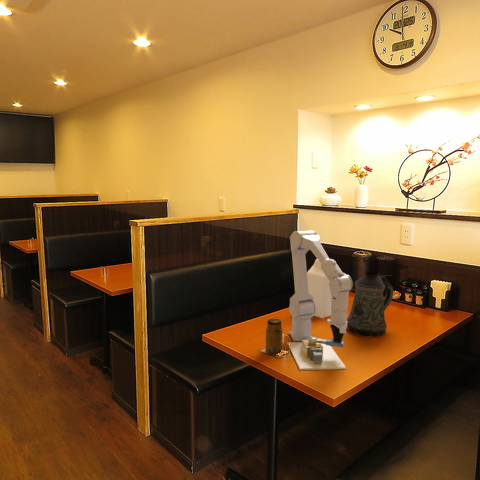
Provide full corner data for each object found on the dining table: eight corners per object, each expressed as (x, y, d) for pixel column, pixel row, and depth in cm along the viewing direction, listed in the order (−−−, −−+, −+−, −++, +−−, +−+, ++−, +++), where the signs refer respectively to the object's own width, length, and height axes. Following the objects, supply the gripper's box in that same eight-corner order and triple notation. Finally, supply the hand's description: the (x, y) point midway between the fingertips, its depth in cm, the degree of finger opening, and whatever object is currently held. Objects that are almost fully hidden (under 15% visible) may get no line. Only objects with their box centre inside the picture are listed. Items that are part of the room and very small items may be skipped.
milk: (302, 311, 200) (304, 259, 196) (316, 307, 208) (318, 256, 204) (322, 318, 191) (324, 263, 187) (336, 313, 199) (339, 260, 195)
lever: (307, 342, 149) (307, 338, 149) (309, 339, 152) (309, 335, 152) (342, 348, 145) (342, 344, 144) (343, 344, 147) (344, 341, 147)
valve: (298, 344, 159) (299, 333, 158) (314, 344, 159) (314, 332, 159) (309, 364, 142) (310, 351, 141) (326, 364, 143) (327, 351, 142)
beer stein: (339, 330, 176) (342, 273, 173) (360, 319, 190) (363, 266, 187) (375, 341, 165) (380, 280, 161) (395, 328, 179) (399, 272, 176)
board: (287, 343, 161) (287, 342, 161) (327, 343, 162) (327, 341, 162) (299, 370, 139) (299, 368, 139) (345, 368, 141) (345, 367, 141)
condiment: (272, 345, 159) (273, 316, 157) (290, 352, 153) (291, 321, 152) (260, 351, 154) (260, 320, 152) (278, 358, 148) (279, 326, 146)
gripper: (324, 302, 154) (322, 336, 156) (332, 315, 139) (330, 353, 142) (343, 302, 154) (341, 337, 156) (353, 315, 139) (350, 353, 141)
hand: (337, 344), depth 149 cm, fingers closed, pressing on lever
